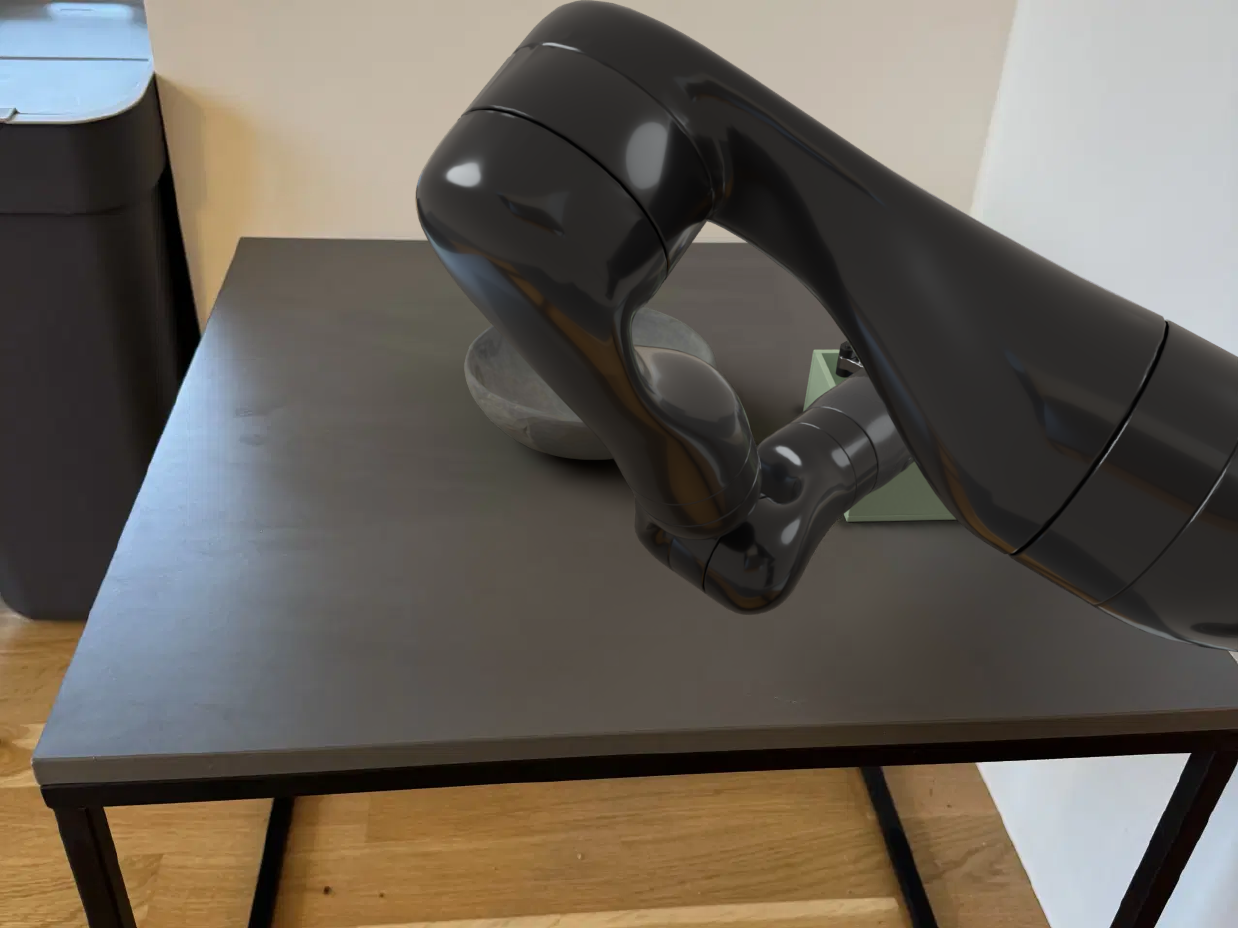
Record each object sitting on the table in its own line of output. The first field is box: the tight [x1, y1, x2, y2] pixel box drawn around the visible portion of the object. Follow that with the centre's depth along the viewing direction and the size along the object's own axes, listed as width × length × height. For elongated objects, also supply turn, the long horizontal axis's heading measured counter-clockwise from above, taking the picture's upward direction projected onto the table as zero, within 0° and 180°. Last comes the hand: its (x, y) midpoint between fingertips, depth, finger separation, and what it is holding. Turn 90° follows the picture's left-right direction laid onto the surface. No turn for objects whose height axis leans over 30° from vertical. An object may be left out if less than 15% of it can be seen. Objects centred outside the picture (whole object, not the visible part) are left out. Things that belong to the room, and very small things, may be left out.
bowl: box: [463, 306, 717, 461], centre depth 96 cm, size 21×21×8 cm
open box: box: [802, 349, 958, 523], centre depth 95 cm, size 16×16×7 cm
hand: (980, 345), depth 87 cm, fingers open, 6 cm apart
